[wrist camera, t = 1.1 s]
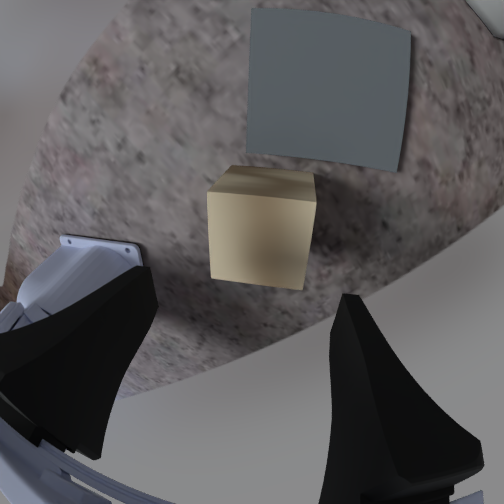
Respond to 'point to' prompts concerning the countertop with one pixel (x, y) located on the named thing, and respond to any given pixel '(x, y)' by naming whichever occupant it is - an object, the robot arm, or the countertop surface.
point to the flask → (490, 14)
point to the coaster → (327, 87)
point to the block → (261, 225)
